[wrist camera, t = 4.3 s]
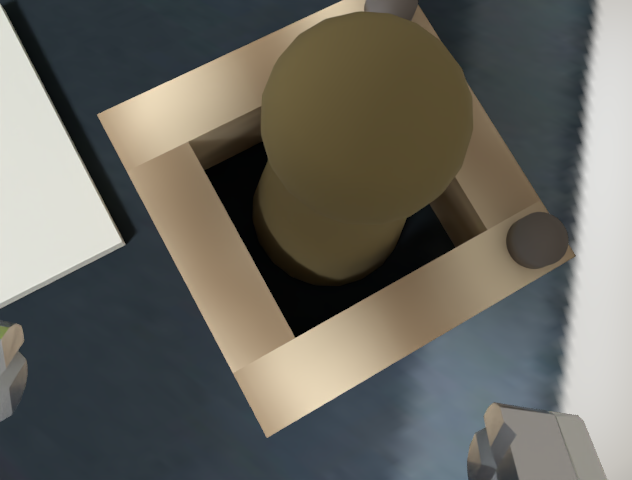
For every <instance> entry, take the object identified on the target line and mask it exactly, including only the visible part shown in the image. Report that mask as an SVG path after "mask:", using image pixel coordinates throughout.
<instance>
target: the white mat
mask: <svg viewBox="0 0 632 480" xmlns="http://www.w3.org/2000/svg"><path fill="white" fill-rule="evenodd" d="M124 245H126V244H125V242H124V240H123V238H122V236H121V234H120V232H119V230H118V228H117V226H116V225H115V223H114V221H113V219H112V217H111V215H110V213H109V211H108V209H107V207H106V205H105V203H104V201H103V199H102V197H101V195H100V194H99V192H98V190H97V188H96V186H95V184H94V182H93V180H92V178H91V176H90V174H89V172H88V170H87V168H86V166H85V164H84V163H83V161H82V159H81V157H80V155H79V153H78V151H77V149H76V147H75V145H74V143H73V141H72V139H71V137H70V135H69V133H68V132H67V130H66V128H65V126H64V124H63V122H62V120H61V118H60V116H59V114H58V112H57V110H56V108H55V106H54V104H53V102H52V101H51V99H50V97H49V95H48V93H47V91H46V89H45V87H44V85H43V83H42V81H41V79H40V77H39V75H38V73H37V71H36V70H35V68H34V66H33V64H32V62H31V60H30V58H29V56H28V54H27V52H26V50H25V48H24V46H23V44H22V42H21V40H20V39H19V37H18V35H17V33H16V31H15V29H14V27H13V25H12V23H11V21H10V19H9V17H8V15H7V13H6V11H5V10H4V8H3V7H2V6H1V4H0V308H2V307H4V306H6V305H8V304H10V303H12V302H14V301H16V300H18V299H20V298H22V297H24V296H26V295H28V294H30V293H32V292H34V291H36V290H38V289H40V288H42V287H44V286H45V285H47V284H49V283H51V282H53V281H55V280H57V279H59V278H61V277H63V276H65V275H67V274H69V273H71V272H73V271H75V270H77V269H79V268H81V267H83V266H85V265H87V264H89V263H91V262H93V261H95V260H97V259H99V258H101V257H103V256H105V255H107V254H109V253H111V252H113V251H114V250H116V249H118V248H120V247H122V246H124Z"/></svg>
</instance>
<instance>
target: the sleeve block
mask: <svg viewBox="0 0 632 480" xmlns="http://www.w3.org/2000/svg"><path fill="white" fill-rule="evenodd" d="M359 11H363V12H378V13H390V14H393V15H396V16H398V17H401V18H404V19H407V20H409V21H412V22H415V23H417V24H419V25H420V26H421V27H423V28H424V29H425V30H427V31H428V32H430V33H431V34H432V35H434V36H435V37H436V38H438V39H439V37H438V35H437V34H436V32H435V31H434V29H433V27H432V26H431V24H430V23H429V21H428V19H427V18H426V16H425V15H424V13H423V11H422V10H421V8H420V7H419V5H418V0H342V1H340V2H338V3H336V4H334V5H332V6H330V7H327V8H325V9H323V10H321V11H319V12H317V13H314V14H312V15H310V16H308V17H306V18H304V19H302V20H299V21H297V22H295V23H293V24H291V25H289V26H286V27H284V28H282V29H280V30H278V31H276V32H274V33H271V34H269V35H267V36H265V37H263V38H261V39H259V40H256V41H254V42H252V43H250V44H248V45H246V46H243V47H241V48H239V49H237V50H235V51H233V52H231V53H228V54H226V55H224V56H222V57H220V58H218V59H216V60H213V61H211V62H209V63H207V64H205V65H203V66H200V67H198V68H196V69H194V70H192V71H190V72H188V73H185V74H183V75H181V76H179V77H177V78H175V79H173V80H170V81H168V82H166V83H164V84H162V85H160V86H157V87H155V88H153V89H151V90H149V91H147V92H145V93H142V94H140V95H138V96H136V97H134V98H132V99H130V100H127V101H125V102H123V103H121V104H119V105H117V106H114V107H112V108H110V109H108V110H106V111H104V112H102V113H99V114H97V115H98V117H99V119H100V121H101V123H102V125H103V127H104V129H105V131H106V133H107V134H108V136H109V138H110V140H111V142H112V144H113V146H114V148H115V150H116V152H117V153H118V155H119V157H120V159H121V161H122V163H123V165H124V167H125V169H126V171H127V172H128V174H129V176H130V178H131V180H132V182H133V184H134V186H135V188H136V190H137V192H138V193H139V195H140V197H141V199H142V201H143V203H144V205H145V207H146V209H147V211H148V212H149V214H150V216H151V218H152V220H153V222H154V224H155V226H156V228H157V230H158V231H159V233H160V235H161V237H162V239H163V241H164V243H165V245H166V247H167V249H168V250H169V252H170V254H171V256H172V258H173V260H174V262H175V264H176V266H177V268H178V269H179V271H180V273H181V275H182V277H183V279H184V281H185V283H186V285H187V287H188V288H189V290H190V292H191V294H192V296H193V298H194V300H195V302H196V304H197V306H198V307H199V309H200V311H201V313H202V315H203V317H204V319H205V321H206V323H207V325H208V326H209V328H210V330H211V332H212V334H213V336H214V338H215V340H216V342H217V344H218V345H219V347H220V349H221V351H222V353H223V355H224V357H225V359H226V361H227V363H228V365H229V366H230V368H231V370H232V372H233V374H234V376H235V378H236V380H237V382H238V384H239V385H240V387H241V389H242V391H243V393H244V395H245V397H246V399H247V401H248V403H249V404H250V406H251V408H252V410H253V412H254V414H255V416H256V418H257V420H258V422H259V423H260V425H261V427H262V429H263V431H264V433H265V435H266V437H269V436H271V435H272V434H274V433H276V432H278V431H279V430H281V429H283V428H284V427H286V426H288V425H289V424H291V423H293V422H295V421H296V420H298V419H300V418H301V417H303V416H305V415H306V414H308V413H310V412H312V411H313V410H315V409H317V408H318V407H320V406H322V405H323V404H325V403H327V402H329V401H330V400H332V399H334V398H335V397H337V396H339V395H340V394H342V393H344V392H346V391H347V390H349V389H351V388H352V387H354V386H356V385H357V384H359V383H361V382H363V381H364V380H366V379H368V378H369V377H371V376H373V375H374V374H376V373H378V372H380V371H381V370H383V369H385V368H386V367H388V366H390V365H391V364H393V363H395V362H397V361H398V360H400V359H402V358H403V357H405V356H407V355H408V354H410V353H412V352H414V351H415V350H417V349H419V348H420V347H422V346H424V345H425V344H427V343H429V342H431V341H432V340H434V339H436V338H437V337H439V336H441V335H442V334H444V333H446V332H448V331H449V330H451V329H453V328H454V327H456V326H458V325H459V324H461V323H463V322H465V321H466V320H468V319H470V318H471V317H473V316H475V315H476V314H478V313H480V312H482V311H483V310H485V309H487V308H488V307H490V306H492V305H493V304H495V303H497V302H499V301H500V300H502V299H504V298H505V297H507V296H509V295H510V294H512V293H514V292H516V291H517V290H519V289H521V288H522V287H524V286H526V285H527V284H529V283H531V282H533V281H534V280H536V279H538V278H539V277H541V276H543V275H544V274H546V273H548V272H550V271H551V270H553V269H555V268H556V267H558V266H560V265H561V264H563V263H565V262H567V261H568V260H570V259H572V258H573V257H575V256H576V255H575V254H574V252H573V251H572V249H571V248H570V246H569V244H568V243H569V242H568V234H567V231H566V228H565V227H564V225H563V224H562V222H561V221H560V220H559V219H558V218H556V217H555V216H553V215H551V214H549V212H548V211H547V209H546V208H545V206H544V204H543V203H542V201H541V200H540V198H539V196H538V195H537V193H536V192H535V190H534V188H533V187H532V185H531V184H530V182H529V181H528V179H527V177H526V176H525V174H524V173H523V171H522V169H521V168H520V166H519V165H518V163H517V161H516V160H515V158H514V157H513V155H512V153H511V152H510V150H509V149H508V147H507V145H506V144H505V142H504V141H503V139H502V137H501V136H500V134H499V133H498V131H497V129H496V128H495V126H494V125H493V123H492V122H491V120H490V118H489V117H488V115H487V114H486V112H485V110H484V109H483V107H482V106H481V104H480V102H479V101H478V99H477V98H476V96H475V94H474V93H473V91H472V90H471V88H470V86H469V85H468V87H469V90H470V92H471V95H472V99H473V132H472V136H471V140H470V143H469V146H468V149H467V152H466V156H465V159H464V162H463V165H462V168H461V169H460V171H459V172H458V173H457V175H456V176H455V177H454V179H453V180H452V181H451V183H450V184H449V185H448V187H447V188H446V189H445V191H444V192H443V193H442V194H441V195H440V196H439V197H438V198H436V199H435V200H434V201H432V202H431V203H429V204H430V206H431V207H432V209H433V211H434V212H435V214H436V216H437V217H438V219H439V221H440V222H441V224H442V226H443V227H444V229H445V231H446V232H447V234H448V236H449V237H450V239H451V241H452V242H453V244H454V246H455V247H456V248H454V249H453V250H451V251H449V252H447V253H446V254H444V255H442V256H440V257H438V258H437V259H435V260H433V261H431V262H430V263H428V264H426V265H424V266H422V267H421V268H419V269H417V270H415V271H414V272H412V273H410V274H408V275H406V276H405V277H403V278H401V279H399V280H398V281H396V282H394V283H392V284H390V285H389V286H387V287H385V288H383V289H382V290H380V291H378V292H376V293H374V294H373V295H371V296H369V297H367V298H366V299H364V300H362V301H360V302H358V303H357V304H355V305H353V306H351V307H350V308H348V309H346V310H344V311H342V312H341V313H339V314H337V315H335V316H334V317H332V318H330V319H328V320H326V321H325V322H323V323H321V324H319V325H318V326H316V327H314V328H312V329H310V330H309V331H307V332H305V333H303V334H302V335H300V336H298V337H296V338H295V336H294V334H293V333H292V331H291V329H290V327H289V325H288V323H287V322H286V320H285V318H284V316H283V314H282V312H281V311H280V309H279V307H278V305H277V303H276V301H275V300H274V298H273V296H272V294H271V292H270V290H269V289H268V287H267V285H266V283H265V281H264V279H263V278H262V276H261V274H260V272H259V270H258V268H257V267H256V265H255V263H254V261H253V259H252V257H251V256H250V254H249V252H248V250H247V248H246V246H245V245H244V243H243V241H242V239H241V237H240V235H239V234H238V232H237V230H236V228H235V226H234V224H233V223H232V221H231V219H230V217H229V215H228V214H227V212H226V210H225V208H224V206H223V204H222V203H221V201H220V199H219V197H218V195H217V193H216V192H215V190H214V188H213V186H212V184H211V182H210V181H209V179H208V177H207V175H206V173H205V171H204V170H206V169H208V168H210V167H212V166H214V165H216V164H218V163H220V162H222V161H224V160H226V159H228V158H230V157H232V156H234V155H236V154H238V153H240V152H242V151H244V150H246V149H248V148H250V147H252V146H254V145H256V144H258V143H260V142H263V140H262V136H261V107H262V94H263V91H264V89H265V86H266V84H267V81H268V79H269V76H270V74H271V71H272V69H273V66H274V65H275V63H276V61H277V60H278V58H279V57H280V56H281V54H282V53H283V52H284V51H285V50H286V49H287V48H288V46H289V45H290V44H291V43H292V42H293V41H294V40H295V38H296V37H297V36H298V35H299V34H301V33H302V32H304V31H306V30H307V29H309V28H311V27H312V26H314V25H316V24H318V23H319V22H321V21H323V20H324V19H327V18H331V17H336V16H340V15H344V14H349V13H353V12H359ZM439 40H440V39H439ZM440 41H441V40H440ZM467 84H468V83H467Z"/></svg>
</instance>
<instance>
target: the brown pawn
mask: <svg viewBox="0 0 632 480" xmlns="http://www.w3.org/2000/svg"><path fill="white" fill-rule="evenodd" d="M472 132H473V99H472V95H471V92H470V90H469V87H468V84H467V81H466V79H465V76H464V73H463V70H462V68H461V67H460V65H459V64H458V63H457V62H456V60H455V59H454V58H453V56H452V55H451V54H450V52H449V51H448V50H447V48H446V47H445V46H444V44H443V43H442V42H441V41H440V40H439V39H438V38H436V37H435V36H434V35H432V34H431V33H430V32H428V31H427V30H425V29H424V28H423V27H421V26H420V25H419V24H417V23H415V22H412V21H409V20H407V19H404V18H401V17H398V16H396V15H393V14H390V13H378V12H363V11H359V12H353V13H349V14H344V15H340V16H336V17H331V18H327V19H324V20H323V21H321V22H319V23H318V24H316V25H314V26H312V27H311V28H309V29H307V30H306V31H304V32H302V33H301V34H299V35H298V36H297V37H296V38H295V40H294V41H293V42H292V43H291V44H290V45H289V46H288V48H287V49H286V50H285V51H284V52H283V53H282V54H281V56H280V57H279V58H278V60H277V61H276V63H275V65H274V66H273V69H272V71H271V74H270V76H269V79H268V81H267V84H266V86H265V89H264V91H263V94H262V107H261V136H262V140H263V143H264V147H265V150H266V153H267V157H268V161H267V164H266V166H265V168H264V170H263V173H262V175H261V178H260V180H259V183H258V185H257V188H256V190H255V193H254V196H253V213H252V220H253V224H254V227H255V231H256V234H257V238H258V241H259V243H260V245H261V246H262V248H263V249H264V251H265V252H266V254H267V255H268V257H269V258H270V260H271V261H272V262H273V263H274V264H275V265H277V266H278V267H279V268H280V269H282V270H283V271H284V272H286V273H287V274H288V275H289V276H291V277H293V278H295V279H298V280H301V281H304V282H306V283H309V284H312V285H316V286H342V285H345V284H348V283H352V282H355V281H359V280H362V279H364V278H365V277H366V276H368V275H369V274H371V273H372V272H374V271H375V270H377V269H378V268H380V267H381V266H382V265H383V263H384V262H385V261H386V259H387V258H388V257H389V255H390V254H391V253H392V251H393V250H394V249H395V247H396V245H397V242H398V240H399V237H400V234H401V232H402V229H403V227H404V224H405V221H406V219H407V217H410V216H412V215H413V214H414V213H416V212H417V211H419V210H420V209H422V208H423V207H425V206H426V205H428V204H429V203H431V202H432V201H434V200H435V199H436V198H438V197H439V196H440V195H441V194H442V193H443V192H444V191H445V189H446V188H447V187H448V185H449V184H450V183H451V181H452V180H453V179H454V177H455V176H456V175H457V173H458V172H459V171H460V169H461V168H462V165H463V162H464V159H465V156H466V152H467V149H468V146H469V143H470V140H471V136H472Z"/></svg>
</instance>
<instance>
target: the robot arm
mask: <svg viewBox="0 0 632 480" xmlns="http://www.w3.org/2000/svg"><path fill="white" fill-rule="evenodd" d="M23 342H24V337H23V331H22V326H20V325H18V324H16V323H11V322H6V321H0V421H2V420H3V419H5V418H7V417H9V416H10V415H12V414H13V412H14V411H15V409H16V407H17V405H18V404H19V402H20V400H21V397H22V394H23V391H24V388H25V385H26V381H27V371H28V370H27V360H26V359H25V358H24V357H23V356H22V354H21V353H20V352H19V351H18V349H19V348H20V346H21V345H22V343H23ZM484 421H485V425H486V427H485V428H484V429H482V430H480V431H478V432H476V433H475V435H474V437H473V439H472V442H471V444H470V447H469V453H468V459H467V471H468V479H469V480H607V478H606V475H605V473H604V470H603V468H602V465H601V463H600V461H599V458H598V456H597V453H596V451H595V449H594V446H593V443H592V441H591V438H590V436H589V433H588V431H587V429H586V426H585V423H584V421H583V420H582V419H581V418H580V417H579V416H578V415H571V414H565V413H558V412H552V411H549V412H548V411H546V410H540V409H533V408H527V407H520V406H514V405H507V404H501V403H495V402H494V403H493V404H491V405H490V406H489V407H488V409H487V411H486V413H485V415H484Z"/></svg>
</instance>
